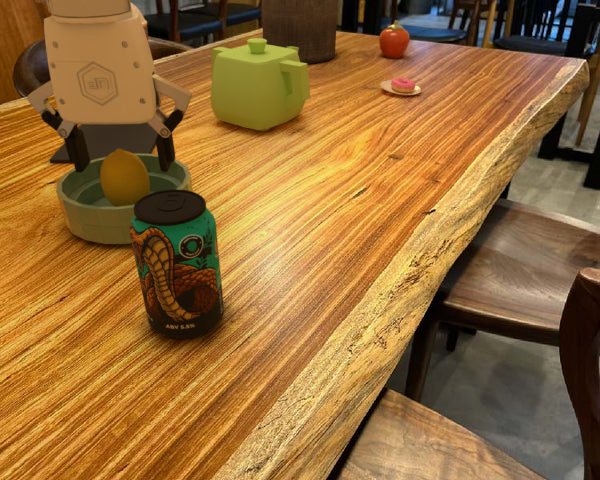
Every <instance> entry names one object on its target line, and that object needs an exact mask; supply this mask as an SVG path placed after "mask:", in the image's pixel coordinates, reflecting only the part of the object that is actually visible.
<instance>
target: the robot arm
mask: <svg viewBox="0 0 600 480" xmlns="http://www.w3.org/2000/svg"><path fill="white" fill-rule="evenodd" d="M33 1H34V3H36V4H43V5H46V6H47V11H48V12H49V13H50V14H51V15H50V16H48V17H45V18H43V32H44V42H45V50H46V59H47V65H48V71H49V77H50V80H49V81H47V82H45V83H43V84H42V85H41V86H39V87H37V88H36V89H34V90H33V91H32V92H30V93H29V94H28V95H27V97H26V99H27V101H28V102H29V104H30V105H31V107H32V108H33V109H34V110H35V112H37V113H38V114H39V115H40V117H41V118H40V119H41V120H42V121H43V123H45V124H47V125H48V126H49V127H50V128H51V129H53V130H54V131H55V132H57V135H58V137H59V138H61V139H63V141H64V143H65V145H66V148H67V152H68V156H69V159H70V161H71V162H73V163H72V164H73V166H74V167H75V170H76V172H83V171H84V170H85V169H86V167H87V166H88V165H89V163H90V157H89V153H88V149H87V145H86V141H85V137H84V133H83V131H81V129H78V128H79V127H78V125H82V124H141V123H146V122H147V123H148V124H149V125H150V126H151V127H152V128H153V129H154V130H155V131H156V132H157V133H158V136H157V137H156V145H155V147H156V152H157V155H158V158H159V164H160V170H161V171H162V172H168V170H169V168H170V165H171V163H172V162H174V161H175V159H176V149H175V143H174V139H173V132H174V131H175V129H176V128H177V127H178V126H179V125H180V123H182V121H183V120H184V118H185V116H186V112H187V110H188V109H189V108H188V107H189V105H190V102H191V100H192V98H193V97H192V96H193V94H192V92H191V91H190V90H189V89H186V88H185V87H182V86H180V85H178V84H176V83H174V82H172V81H170V80H168V79H166V78H164V77H162V76H160V75H159V74H157V72H156V66H155V63H154V59H153V55H152V52H151V51H152V50H151V47H150V44H148V42H149V40H148V41H147V37H146V34H145V31H144V28H143V25H142V22H141V20H140V17H139V15H138V14H137V13H132V9H131V3H132V2H131V0H33ZM130 2H131V3H130ZM161 95H163V96H165V97H167V98H168V99H169V98H170V99H171V100H173V101H174V103H175V104H174V108H173V110H172V111H171V113H170V114H169V115H168V113H166V112H165V111H164V110H163V109H162V108H161V103H162V102H161V100H162V99H161ZM52 96H53V97H54V101H55V105H56V108H57V109H56V108H55V107H53V106H52V105H51V103H50V101H49V98H50V97H52Z"/></svg>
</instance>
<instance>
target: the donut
mask: <svg viewBox="0 0 600 480" xmlns="http://www.w3.org/2000/svg"><path fill="white" fill-rule="evenodd" d="M379 86H380V87H381V88H382V90H385V91H386V92H388V93H391V94H394V95H397V96H405V97H406V96H407V97H408V96H409V97H410V96H415V95H418V94H420V93H421V92H422V89H421V87H420V86H418V85H416V83H415V82H414V80H413V79H410V78H409V79H408V78H406V77H394V78H393V79H389V80H384V81H381V82H380V84H379ZM366 88H370V89H371V88H372V85H369V86H367V85H366ZM373 88H374V89H376V88H377V87H376V86H374V87H373Z"/></svg>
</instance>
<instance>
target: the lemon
mask: <svg viewBox="0 0 600 480" xmlns="http://www.w3.org/2000/svg"><path fill="white" fill-rule="evenodd" d="M100 181H101V186H102V189H103V192H104V195H105V196H106V198H107V199H108V201H109V202H110V203H111V204H112V205H114V206H115V207H120V206H128V205H135V204H136V202H137V201H138V200H140V199H141V198H142V197H144V196H146V195H148V194H149V192H150V181H149V176H148V172H147V170H146V167H145V165H144V164H143V162H142V161H141V160H140V158H139V157H137V156H136V155H135V154H133V153H131V152H128V151H124V150H122V149H116V151H115V152H113V153H111V154H109V155H108V156H107V157H106V158H105V159H104V161H103V163H102V165H101V170H100Z"/></svg>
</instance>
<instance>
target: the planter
mask: <svg viewBox="0 0 600 480" xmlns="http://www.w3.org/2000/svg"><path fill="white" fill-rule="evenodd" d="M338 9H339V0H261V21H262V22H261V23H262V24H261V26H262V38H263V39H265V40H267V43H266V44H267V45H273V46H278V47H284V48H287V47H292V46H293V47H298V48H299V50H298V56H299V60H300V62H301V63H307V65H308V64H309V65H310V64H318V63H319V64H320V63H323V62H327V61H330V60H333V59H334V58H335V57H336V44H337V43H336V41H337V29H338V27H337V25H338V24H337V23H338Z"/></svg>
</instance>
